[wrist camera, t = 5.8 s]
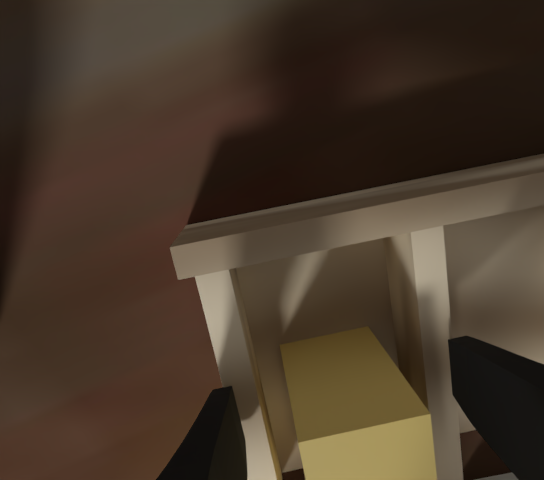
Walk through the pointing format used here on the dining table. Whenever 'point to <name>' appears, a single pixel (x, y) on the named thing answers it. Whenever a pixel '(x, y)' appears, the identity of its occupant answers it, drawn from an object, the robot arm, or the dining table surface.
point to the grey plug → (501, 477)
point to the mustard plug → (356, 411)
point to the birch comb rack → (372, 290)
